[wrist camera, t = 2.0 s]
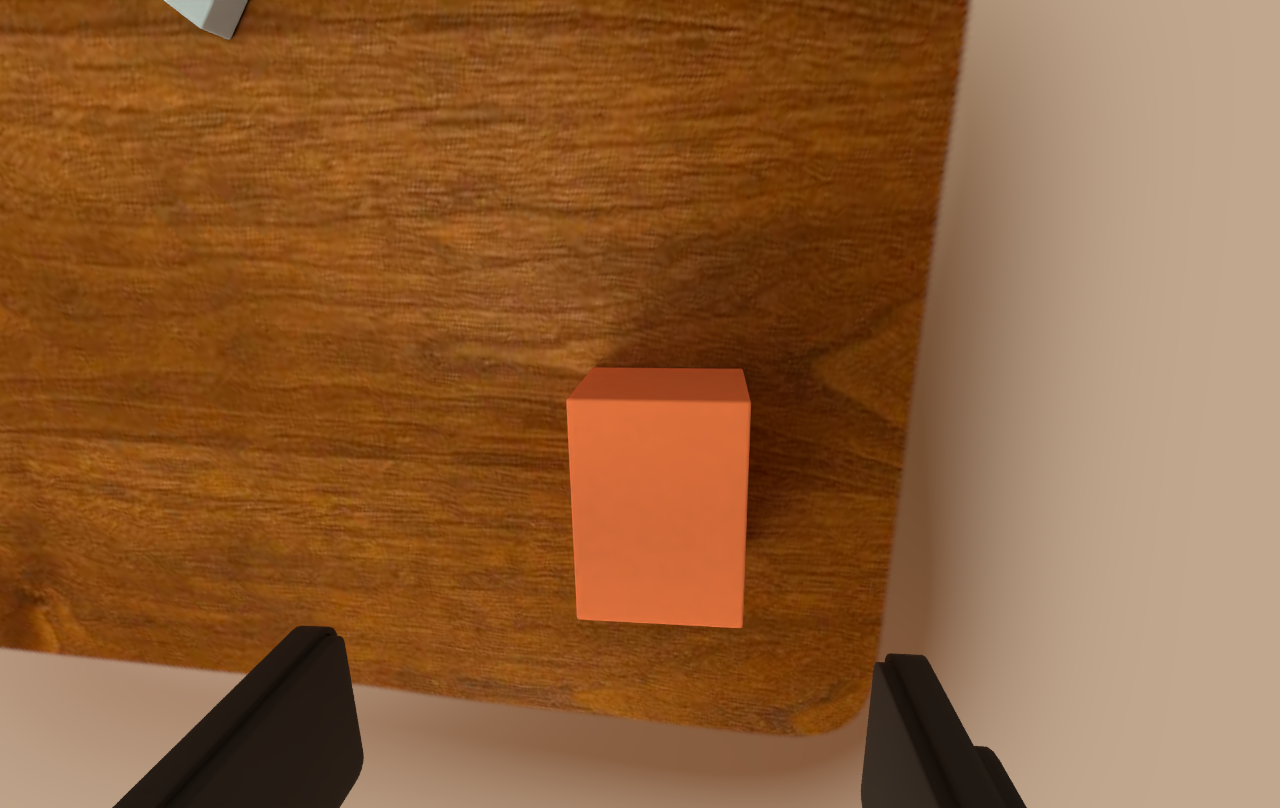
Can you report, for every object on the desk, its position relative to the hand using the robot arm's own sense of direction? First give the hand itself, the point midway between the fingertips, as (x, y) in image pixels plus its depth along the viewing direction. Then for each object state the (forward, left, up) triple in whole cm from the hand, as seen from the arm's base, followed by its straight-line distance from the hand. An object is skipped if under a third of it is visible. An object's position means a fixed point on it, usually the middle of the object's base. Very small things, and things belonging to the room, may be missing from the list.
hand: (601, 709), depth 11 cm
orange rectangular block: (0, 0, -11) cm, 11 cm away
